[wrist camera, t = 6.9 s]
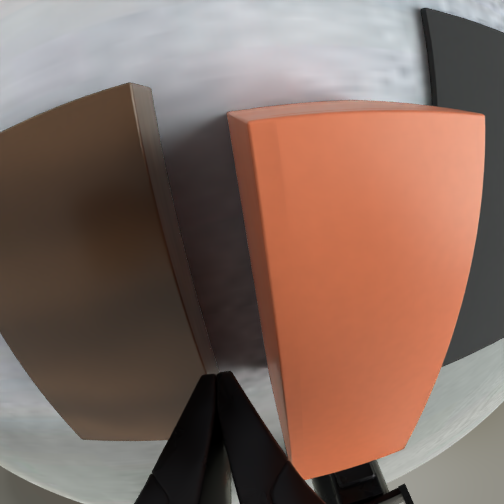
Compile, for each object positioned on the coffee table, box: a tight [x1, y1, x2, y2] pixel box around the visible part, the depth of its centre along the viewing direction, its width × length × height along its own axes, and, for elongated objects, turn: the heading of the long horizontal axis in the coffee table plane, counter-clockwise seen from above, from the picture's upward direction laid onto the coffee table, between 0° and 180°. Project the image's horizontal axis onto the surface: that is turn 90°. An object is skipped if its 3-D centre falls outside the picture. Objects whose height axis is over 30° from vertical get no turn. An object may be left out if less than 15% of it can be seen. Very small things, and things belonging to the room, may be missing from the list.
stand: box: [0, 83, 219, 441], centre depth 12 cm, size 16×9×3 cm, turn 8°
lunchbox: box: [227, 100, 485, 480], centre depth 11 cm, size 13×7×5 cm
